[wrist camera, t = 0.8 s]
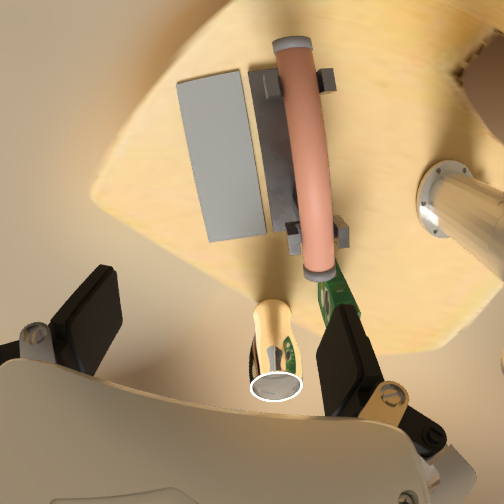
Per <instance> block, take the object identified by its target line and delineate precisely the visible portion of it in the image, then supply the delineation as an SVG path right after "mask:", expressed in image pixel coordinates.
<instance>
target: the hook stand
mask: <svg viewBox="0 0 504 504" xmlns="http://www.w3.org/2000/svg"><path fill="white" fill-rule="evenodd" d="M248 76H249V82H250V87H251V93H252V99H253V104H254V110H255V116H256V122H257V128H258V134H259V140H260V146H261V152H262V159H263V165H264V171H265V178H266V184H267V191H268V197H269V204H270V211H271V218H272V225H273V232H279V231H286V238H287V244H288V248H289V252H290V255H298V254H301V248H300V243H302V236H301V226H300V216H299V207H298V198H297V189H296V181H295V173H294V166H293V158H292V151H291V144H290V137H289V130H288V123H287V117H286V110H285V104H284V98H283V92H282V86H281V81H280V75H279V70H278V68H276V69H268V70H260V71H253V72H248ZM316 76H317V81H318V87H319V94H329V93H332V92H335V91H337V90H336V84H335V78H334V72H333V68H325V69H320V70H318V71H317V72H316ZM333 232H334V241H335V242H336V244H337V246H338V248H339V249H340V248H347V247H349V227H348V225H347V224H346V223H345V222H344V220H343V219H342V218H341V217H340V215H339V216H333Z"/></svg>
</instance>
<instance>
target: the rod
mask: <svg viewBox="0 0 504 504" xmlns="http://www.w3.org/2000/svg"><path fill="white" fill-rule="evenodd" d="M272 45H273V50H274V54H275V55H276V59H277V64H278V70H279V75H280V81H281V86H282V92H283V98H284V104H285V110H286V117H287V123H288V130H289V137H290V144H291V151H292V158H293V166H294V173H295V181H296V189H297V198H298V207H299V216H300V226H301V236H302V246H303V257H304V264H303V269H304V277H305V278H306V279H307V280H309V281H312V282H325V281H329V280H331V279H332V278H334V276H335V275H336V263H335V258H334V232H333V213H332V198H331V186H330V174H329V164H328V154H327V145H326V137H325V129H324V121H323V114H322V107H321V100H320V94H319V87H318V81H317V76H316V70H315V65H314V59H313V54H312V50H313V48H312V43H311V39H310V38H309V37H306V36H289V37H283V38H280V39H277V40H275V41H273V42H272Z"/></svg>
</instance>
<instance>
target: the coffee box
mask: <svg viewBox="0 0 504 504" xmlns="http://www.w3.org/2000/svg"><path fill="white" fill-rule="evenodd" d="M334 258H335V257H334ZM335 263H336V275H335V276H334V278H332V279H331V280H329V281H325V282H318V302H319V305H320V309H321V312H322V316H323V319H324V323H325V326H326V328H327V325H328V323H329V320H330V318H331V315H332V313H333V310H334V308H335V306H339V304H341V303H344V304H353V305H354V306H355V309H356V311H357V313H358V316H359V318H360V317H361V312H360V310H359V307H358V305H357V303H356V301H355V299H354V297H353V295H352V293H351V290H350V288H349V286H348V284H347V282H346V280H345V278H344V276H343V274H342V272H341V269H340V267H339V265H338V263H337V261H336V259H335Z"/></svg>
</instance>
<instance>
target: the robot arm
mask: <svg viewBox="0 0 504 504" xmlns="http://www.w3.org/2000/svg"><path fill="white" fill-rule="evenodd" d="M416 207H417V214H418V218H419V220H420V223H421V225H422V226H423V227H424V229H425V230H426V231H428V232H429V233H430V234H431V235H433V236H435V237H438V238H449V237H451V238H452V239H453V240H455V241H456V242H457V243H458V244H460V245H461V246H462V247H463V248H464V249H466V250H467V251H468V252H469V253H470V254H472V255H473V256H474V257H475V258H476V259H477V260H479V261H480V262H481V263H482V264H483V265H484V266H485V267H486V268H488V269H489V270H490V271H491V272H492V273H493V274H494V275H495V276H496V277H498V278H499V279H500V280H501V281H503V282H504V192H503V191H501V190H499V189H496V188H494V187H492V186H490V185H488V184H486V183H483V182H481V181H479V180H477V179H474V177H473V175H472V173H471V171H470V170H469V169H468V168H467V167H466V166H465V165H464V164H462V163H460V162H458V161H455V160H443V161H440V162H438V163H436V164H434V165H433V166H432V167H431V168H430V169H429V170H428V171H427V172H426V174H425V175H424V177H423V179H422V181H421V183H420V186H419V188H418V193H417V200H416ZM50 321H51V322H50V323H49V325H48V326H47V324H44V323H42V322H34V323H31V324H28V325H27V326H25V327H24V329H22V331H21V333H20V338H19V340H18V341H14V342H11V343H7V344H4V345H0V504H461V503H462V502H463V500H464V499H465V498H466V497H467V495H468V494H469V493H470V491H471V490H472V488H473V487H474V485H475V483H476V479H477V476H476V472H475V470H474V469H473V468H472V467H471V466H470V464H469V463H468V462H467V461H466V460H465V459H464V458H463V457H462V456H461V455H460V454H459V452H458V451H457V450H456V449H455V448H454V447H453V446H452V445H451V444H450V445H449V446H448V445H447V444H446V442H447V436H446V433H445V431H444V429H443V428H442V427H441V426H440V425H438V424H437V423H435V422H434V421H432V420H431V419H429V418H427V417H426V416H424V415H423V414H421V413H419V412H418V411H416V410H415V409H413V408H412V407H410V406H409V405H408V402H409V395H408V393H407V391H406V390H405V388H404V387H403V386H401V385H400V384H399V383H396V382H393V381H384V378H383V375H382V373H381V370H380V367H379V364H378V361H377V359H376V356H375V353H374V350H373V348H372V345H371V343H370V340H369V338H368V337H367V336H366V334H365V331H364V329H363V326H362V324H361V321H360V318H359V316H358V313H357V311H356V309H355V306H354V305H353V304H344V303H341V304H339V306H335V308H334V310H333V313H332V315H331V318H330V320H329V323H328V325H327V328H326V330H325V333H324V335H323V337H322V340H321V342H320V345H319V347H318V349H317V353H316V360H317V366H318V372H319V378H320V385H321V391H322V398H323V404H324V411H325V416H304V415H286V414H273V413H262V412H252V411H244V410H236V409H228V408H221V407H215V406H209V405H203V404H197V403H192V402H187V401H182V400H177V399H173V398H168V397H164V396H160V395H155V394H151V393H147V392H143V391H139V390H136V389H132V388H129V387H125V386H122V385H119V384H115V383H112V382H109V381H106V380H102V379H99V378H96V377H93V376H94V374H95V372H96V371H97V369H98V367H99V365H100V363H101V361H102V359H103V358H104V356H105V354H106V352H107V350H108V349H109V346H110V345H111V343H112V341H113V340H114V338H115V336H116V334H117V333H118V331H119V329H120V327H121V325H122V321H123V318H122V311H121V304H120V297H119V289H118V281H117V273H116V271H114V269H113V267H112V266H106V265H102V264H100V265H99V266H98V267H97V268H96V269H95V270H94V271H93V272H92V273H91V274H90V275H89V277H88V278H87V279H86V280H85V281H84V282H83V283H82V284H81V285H80V286H79V288H78V289H77V290H76V291H75V292H74V293H73V294H72V295H71V296H70V298H69V299H68V300H67V301H66V302H65V304H64V305H63V306H62V307H61V308H60V309H59V311H58V312H57V313H56V314H55V315H54V317H53V318H52V319H51V320H50ZM501 369H502V373H503V376H504V350H503V353H502V357H501Z"/></svg>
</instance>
